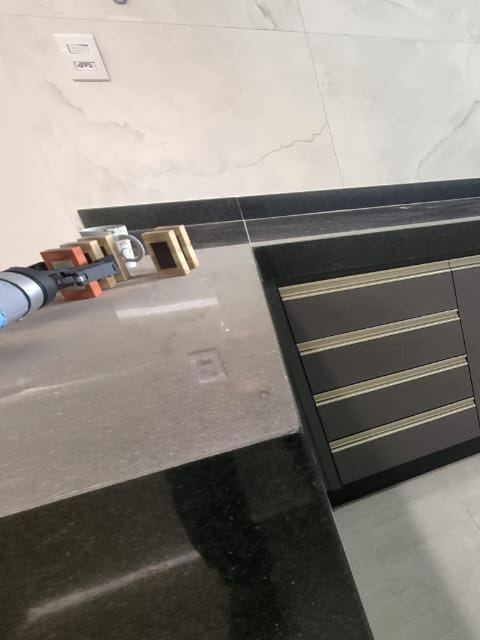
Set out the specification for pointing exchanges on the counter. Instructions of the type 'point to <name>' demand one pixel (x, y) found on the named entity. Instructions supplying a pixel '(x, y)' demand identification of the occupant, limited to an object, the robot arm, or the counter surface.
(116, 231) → the mug
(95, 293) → the orange picture frame
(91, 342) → the counter surface
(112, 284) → the tan photo frame
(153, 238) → the wooden picture frame
